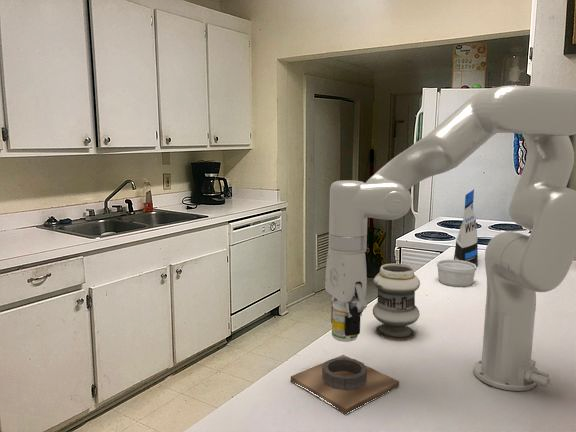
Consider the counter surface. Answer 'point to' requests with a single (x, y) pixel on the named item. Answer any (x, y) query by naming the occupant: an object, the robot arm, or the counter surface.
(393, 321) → the apothecary jar
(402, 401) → the counter surface
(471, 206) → the protein powder
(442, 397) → the counter surface
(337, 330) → the supplement bottle
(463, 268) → the ramekin
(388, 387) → the stand board
